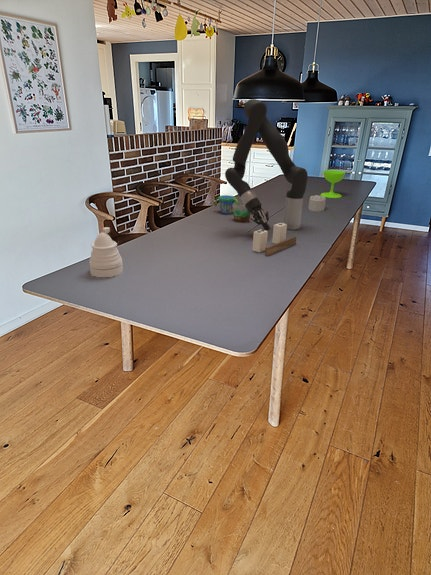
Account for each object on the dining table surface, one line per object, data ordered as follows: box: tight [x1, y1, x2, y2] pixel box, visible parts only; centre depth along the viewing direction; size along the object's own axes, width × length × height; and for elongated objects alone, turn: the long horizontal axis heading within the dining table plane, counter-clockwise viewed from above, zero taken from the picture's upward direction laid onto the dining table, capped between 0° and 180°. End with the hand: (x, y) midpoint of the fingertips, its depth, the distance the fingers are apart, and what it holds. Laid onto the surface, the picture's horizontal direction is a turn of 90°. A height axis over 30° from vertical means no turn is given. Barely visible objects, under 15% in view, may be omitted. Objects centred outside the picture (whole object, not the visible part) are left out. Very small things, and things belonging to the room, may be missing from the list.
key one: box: [271, 222, 288, 244], centre depth 190 cm, size 4×6×9 cm
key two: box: [252, 228, 269, 253], centre depth 180 cm, size 4×6×9 cm
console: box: [264, 235, 297, 257], centre depth 186 cm, size 15×24×5 cm, turn 138°
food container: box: [232, 202, 251, 223], centre depth 229 cm, size 12×6×10 cm, turn 62°
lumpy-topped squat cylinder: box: [308, 194, 327, 212], centre depth 259 cm, size 10×13×9 cm
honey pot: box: [88, 226, 124, 277], centre depth 155 cm, size 13×13×18 cm
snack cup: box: [214, 194, 239, 215], centre depth 246 cm, size 16×10×10 cm
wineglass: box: [320, 169, 346, 199], centre depth 298 cm, size 16×16×18 cm
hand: (268, 230), depth 194 cm, fingers closed
